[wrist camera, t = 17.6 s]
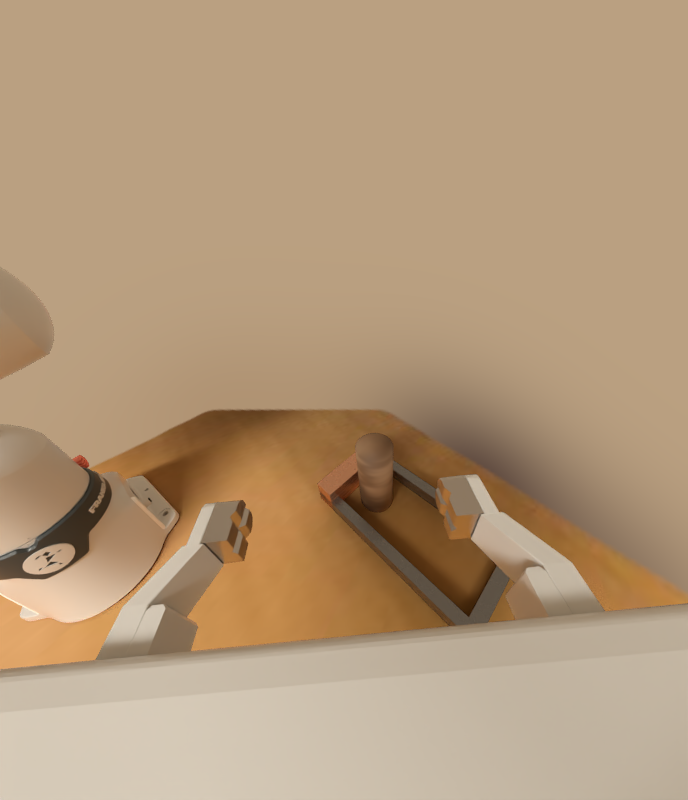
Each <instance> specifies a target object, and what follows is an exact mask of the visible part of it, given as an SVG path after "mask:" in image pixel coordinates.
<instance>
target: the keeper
mask: <svg viewBox="0 0 688 800" xmlns="http://www.w3.org/2000/svg"><path fill="white" fill-rule="evenodd" d="M355 450H356V459H357V468H358V477H359V485H360V494H361V501H362V504H363V505H364V507H365V508H367V509H368V510H370V511H372V512H382V511H385V510H386V509H388V508H389V507H390V505H391V503H392V495H393V443H392V441H391V440H390V439H389V438H388V437H387V436H385V435H383V434H379V433H370V434H366V435H364V436H362V437H361V438H359V439H358V441H357V442H356V445H355Z"/></svg>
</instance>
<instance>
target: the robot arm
mask: <svg viewBox="0 0 688 800" xmlns="http://www.w3.org/2000/svg"><path fill="white" fill-rule="evenodd" d="M53 341H54V329H53V324H52V320H51V318H50V315H49V313H48V311H47V309H46V308H45V306H44V304H43V303H42V302H41V300H40V299H39V298H38V297H37V296H36V295H35V293H34V292H33V291H31V289H30V288H29V287H27V286H26V285H25V284H24V283H23V282H21V281H20V280H19V279H18V278H16V277H15V276H13V275H12V274H10V273H9V272H7V271H6V270H4V269H2V268H1V267H0V379H2V378H4V377H6V376H8V375H10V374H12V373H14V372H16V371H18V370H20V369H22V368H24V367H26V366H28V365H30V364H32V363H34V362H35V361H37V360H39V359H41V358H43V357H45V356H46V355H48V354H49V353H50V351H51V348H52V345H53ZM87 467H89V463H88V462H87V460H86V459H85V458H84V457H83V456H81V455H79V456H77V457H75V458H74V459H71V458H70V457H69V456H68V455H67V454H66V453H64V452H63V451H62V450H61V449H60V448H59V447H58V446H56V445H55V444H54V443H53V442H52V441H51V440H50V439H48V438H47V437H46V436H45V435H44V434H42V433H40V432H37V431H35V430H32V429H28V428H24V427H20V426H13V425H3V424H0V595H2V596H4V597H5V598H7V599H9V600H11V601H13V602H15V603H17V604H19V605H21V606H23V607H22V609H21V612H20V617H21V618H23V619H24V620H26V621H35V620H39V619H44V618H52V619H55V620H57V621H60V622H77V621H81V620H85V619H87V618H90V617H92V616H95V615H97V614H99V613H100V612H102V611H104V610H106V609H107V608H109V607H110V606H112V605H113V604H115V603H116V602H118V601H119V600H120V599H121V598H123V597H124V596H125V595H126V594H127V593H128V592H130V591H131V590H132V589H133V588H134V587H135V586H136V585H137V584H138V583H139V582H140V580H141V579H142V578H143V577H144V576H145V575H146V573H147V572H148V571H149V569H150V568H151V567H152V565H153V564H154V562H155V560H156V559H157V557H158V555H159V553H160V551H161V548H162V546H163V543H164V541H165V538H166V536H167V535H168V533H169V532H170V531H171V529H172V528H173V527H174V525H175V524H176V522H177V521H178V519H179V514H178V512H177V511H176V510H175V509H174V508H173V507H172V506H171V505H170V504H169V502H168V501H167V500H166V499H165V498H164V497H163V496H162V495H161V494H160V493H159V492H158V490H157V489H156V488H155V487H154V486H153V485H152V484H151V483H150V482H149V481H148V480H147V479H146V478H145V477H144V476H136V477H132V478H129V479H125V478H123V477H122V476H121V475H120V474H119V473H118V472H107V473H103V474H99V473H97V472H95V471H91V470H90V469H88V468H87ZM437 485H438V488H437V489H436V491H435V499H436V504H437V507H438V510H439V513H441V514H442V515H443V516H444V522H443V524H444V527H445V529H446V532H447V535H448V537H449V540H451V539H464V538H471V540H472V541H473V542H474V543H475V544H476V545H477V546H478V547H479V548H480V549H481V550H482V551H483V552H484V553H485V554H486V555H487V556H488V557H489V558H490V559H491V560H492V561H493V562H494V563H495V564H496V565H497V566H498V567H499V568H500V569H501V570H502V571H503V572H504V573H505V574H506V575H507V576H508V577H509V578H510V579H511V580H512V581H513V582H514V584H513V586H512V587H511V588H510V589H509V591H508V592H507V594H506V596H505V597H506V599H507V602H508V604H509V606H510V608H511V611H512V613H513V615H514V617H515V619H516V620H510V621H499V622H489V623H479V624H468V625H458V626H447V627H437V628H426V629H416V630H405V631H395V632H385V633H374V634H364V635H353V636H343V637H332V638H322V639H312V640H301V641H291V642H280V643H270V644H259V645H249V646H238V647H228V648H218V649H207V650H197V651H191V648H192V645H193V641H194V638H195V635H196V631H197V628H198V626H197V624H196V623H195V622H193V621H192V620H190V619H188V618H187V616H188V615H189V613H190V612H191V610H192V609H193V607H194V606H195V605H196V603H197V602H198V600H199V599H200V598H201V596H202V595H203V593H204V592H205V591H206V589H207V588H208V586H209V585H210V584H211V582H212V581H213V579H214V578H215V577H216V575H217V574H218V572H219V571H220V570H221V568H222V567H223V564H225V563H233V562H240V561H244V559H245V555H246V551H247V546H248V542H247V540H246V538H247V536H248V535H249V534H250V533H251V529H252V514H251V512H250V510H248V509H246V508H245V505H246V504H245V502H244V501H243V500H238V501H229V502H217V503H209V504H205V505H204V506H203V507H202V509H201V511H200V514H199V516H198V519H197V521H196V523H195V526H194V528H193V530H192V533H191V535H190V538H189V540H188V542H187V545H186V546H182V547H181V548H180V549H179V550H178V551H177V552H176V553H175V554H174V555H173V556H172V557H171V558H170V559H169V560H168V561H167V562H166V563H165V564H164V565H163V566H162V567H161V568H160V569H159V570H158V572H157V573H156V574H155V575H154V576H153V577H152V578H151V579H150V580H149V581H148V582H147V583H146V584H145V585H144V586H143V587H142V588H141V589H140V590H139V591H138V592H137V593H136V594H135V595H134V596H133V597H132V598H131V599H130V600H129V601H128V602H127V603H126V604H125V605H124V606H123V607H122V609H121V611H120V613H119V615H118V617H117V619H116V621H115V623H114V625H113V627H112V629H111V631H110V633H109V635H108V637H107V639H106V640H105V642H104V644H103V646H102V648H101V650H100V652H99V654H98V656H97V658H96V660H92V661H82V662H71V663H61V664H51V665H40V666H30V667H19V668H9V669H0V800H688V603H687V604H677V605H666V606H656V607H646V608H635V609H625V610H614V611H605V610H604V609H603V607H602V606H601V604H600V603H599V602H598V600H597V599H596V597H595V596H594V594H593V593H592V591H591V590H590V588H589V587H588V585H587V584H586V583H585V581H584V580H583V578H582V577H581V575H580V574H579V572H578V571H577V569H576V568H575V566H574V565H573V564H572V562H571V561H569V560H568V559H567V558H565V557H564V556H562V555H561V554H560V553H558V552H557V551H556V550H554V549H553V548H552V547H550V546H549V545H547V544H546V543H545V542H543V541H542V540H541V539H539V538H538V537H537V536H535V535H534V534H532V533H531V532H530V531H528V530H527V529H526V528H524V527H523V526H522V525H520V524H519V523H517V522H516V521H515V520H513V519H512V518H511V517H509V516H508V515H507V514H505V513H504V512H499V511H498V509H497V507H496V506H495V504H494V502H493V500H492V499H491V497H490V495H489V493H488V492H487V490H486V488H485V486H484V485H483V483H482V481H481V479H480V477H479V476H478V475H477V474H471V475H460V476H452V477H445V478H439V479H438V480H437Z"/></svg>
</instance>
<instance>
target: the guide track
mask: <svg viewBox="0 0 688 800" xmlns="http://www.w3.org/2000/svg"><path fill="white" fill-rule="evenodd" d="M393 477H394V478H395V479H397V480H398V481H399V482H401V483H402V484H404V485H405V486H406V487H408V488H409V489H411V490H412V491H413V492H415V493H416V494H418V495H419V496H420V497H422V498H423V499H424V500H426V501H427V502H429V503H430V504H431V505H433V506H434V507H436V508H437V509H438V507H437V504H436V499H435V491H436V489H435V488H434V487H432V486H431V485H429V484H428V483H426V482H425V481H423V480H422V479H420V478H419V477H417V476H416V475H414V474H413V473H411V472H410V471H408V470H407V469H405V468H404V467H402V466H401V465H399V464H398V463H396V462H395V461H393ZM317 484H318V488H319V491H320V495H321V498H322V499H323V500H324V501H325V502H326V503H327V504H328V505H329V506H330V507H331V508H332V509H333V510H334V511H335V512H336V513H337V514H338V515H339V516H340V517H341V518H342V519H343V520H344V521H345V522H346V523H347V524H348V525H349V526H350V527H351V528H352V529H353V530H354V531H355V532H356V533H357V534H358V535H359V536H360V537H361V538H362V539H363V540H364V541H365V542H366V543H367V544H368V545H369V546H370V547H371V548H372V549H373V550H374V551H375V552H376V553H377V554H378V555H379V556H380V557H381V558H382V559H383V560H384V561H385V562H386V563H387V564H388V565H389V566H390V567H391V568H392V569H393V570H394V571H395V572H396V573H397V574H398V575H399V576H400V577H401V578H402V579H403V580H404V581H405V582H406V583H407V584H408V585H409V586H410V587H411V588H412V589H413V590H414V591H415V592H416V593H417V594H418V595H419V596H420V597H421V598H422V599H423V600H424V601H425V602H426V603H427V604H428V605H429V606H430V607H431V608H432V609H433V610H434V611H435V612H436V613H437V614H438V615H439V616H440V617H441V618H442V619H443V620H444V621H445V622H446V623H447V624H448V625H449V626H458V625H468V624H479V623H488V621H489V619H490V617H491V615H492V613H493V611H494V609H495V607H496V605H497V603H498V601H499V599H500V597H501V595H502V593H503V591H504V589H505V587H506V585H507V583H508V581H509V579H510V578H509V577H508V576H507V575H506V574H505V573H504V572H503V571H502V570H501V569H500V568H499V567H498V566H496V567H495V569H494V571H493V573H492V575H491V577H490V579H489V580H488V582H487V584H486V586H485V588H484V590H483V591H482V593H481V595H480V597H479V599H478V601H477V602H476V604H475V606H474V608H473V610H472V612H471V613H470V615H469V617H468V616H467V615H466V614H465V613H464V612H463V611H462V610H460V609H459V608H458V607H457V606H456V605H455V604H454V603H453V602H452V601H451V600H450V599H449V598H448V597H446V596H445V595H444V594H443V593H442V592H441V591H440V590H439V589H438V588H437V587H436V586H435V585H434V584H433V583H431V582H430V581H429V580H428V579H427V578H426V577H425V576H424V575H423V574H422V573H421V572H420V571H419V570H417V569H416V568H415V567H414V566H413V565H412V564H411V563H410V562H409V561H408V560H407V559H406V558H405V557H404V556H402V555H401V554H400V553H399V552H398V551H397V550H396V549H395V548H394V547H393V546H392V545H391V544H390V543H388V542H387V541H386V540H385V539H384V538H383V537H382V536H381V535H380V534H379V533H378V532H377V531H376V530H375V529H373V528H372V527H371V526H370V525H369V524H368V523H367V522H366V521H365V520H364V519H363V518H362V517H361V516H359V515H358V514H357V513H356V512H355V511H354V510H353V509H352V508H351V507H350V506H349V505H348V504H347V503H346V502H344V501H343V500H345V499H346V498H347V497H348V496H349V495H350V494H351V493H352V492H353V491H354V490H355V489H356V488H358V487H359V486H360V485H359V477H358V468H357V459H356V452H355V453H354V454H353V455H351V456H350V457H349V458H348V459H346V460H345V461H344V462H343V463H342V464H340V465H339V466H338V467H337V468H335V469H334V470H333V471H332V472H331V473H329V474H328V475H327V476H326V477H324V478H323V479H322V480H321V481H320V482H318V483H317Z"/></svg>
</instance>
